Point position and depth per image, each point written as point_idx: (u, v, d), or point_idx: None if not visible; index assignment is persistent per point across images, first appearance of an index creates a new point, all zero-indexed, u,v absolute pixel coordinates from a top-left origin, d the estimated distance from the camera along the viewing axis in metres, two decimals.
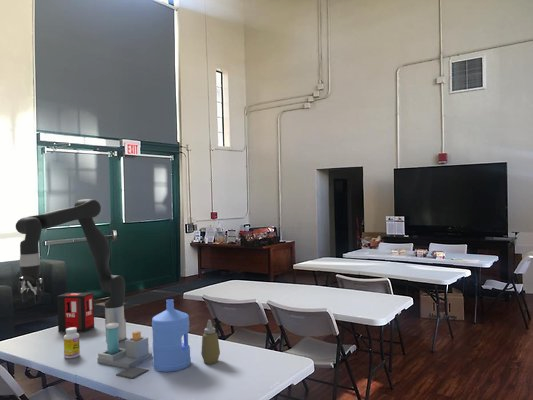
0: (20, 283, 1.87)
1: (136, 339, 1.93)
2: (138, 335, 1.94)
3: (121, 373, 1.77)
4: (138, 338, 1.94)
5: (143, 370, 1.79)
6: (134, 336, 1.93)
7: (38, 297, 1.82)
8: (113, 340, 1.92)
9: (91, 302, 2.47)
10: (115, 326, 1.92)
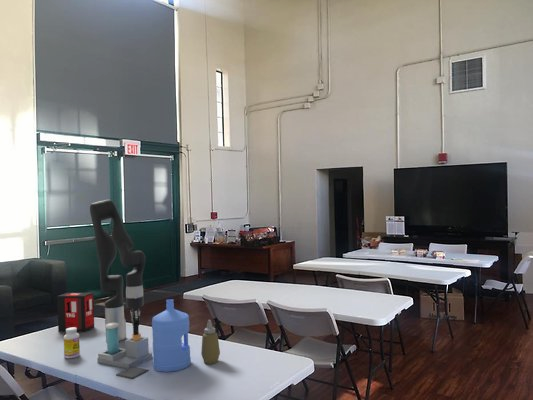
0: None
1: None
2: (138, 337, 1.94)
3: (121, 373, 1.77)
4: (138, 340, 1.94)
5: (143, 370, 1.79)
6: (134, 338, 1.93)
7: None
8: (113, 340, 1.92)
9: (91, 302, 2.47)
10: (115, 326, 1.92)
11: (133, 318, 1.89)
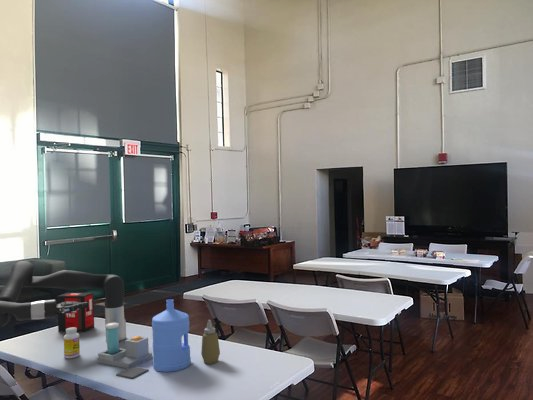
0: None
1: None
2: (138, 340, 1.94)
3: (121, 373, 1.77)
4: None
5: (143, 370, 1.79)
6: None
7: None
8: (113, 340, 1.92)
9: (91, 302, 2.47)
10: (115, 326, 1.92)
11: None
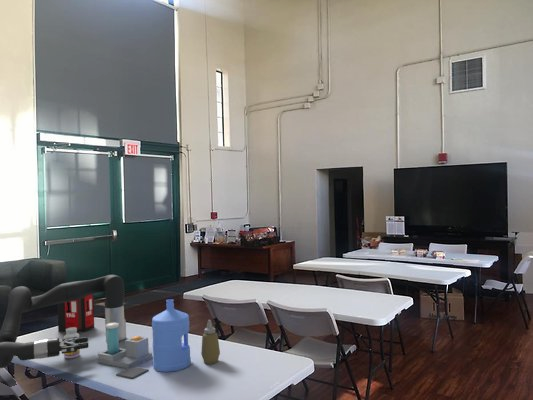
0: None
1: None
2: (138, 340, 1.94)
3: (121, 373, 1.77)
4: None
5: (143, 370, 1.79)
6: None
7: None
8: (113, 340, 1.92)
9: (91, 302, 2.47)
10: (115, 326, 1.92)
11: None
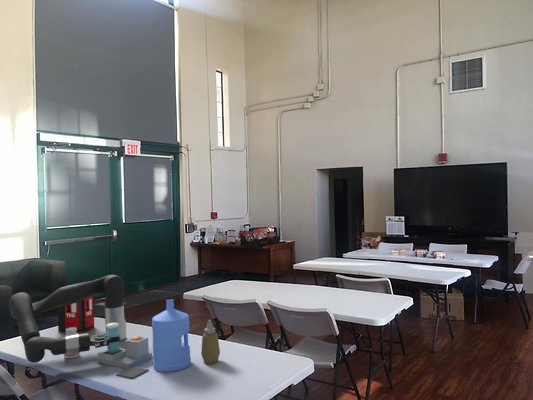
0: None
1: None
2: (138, 340, 1.94)
3: (121, 373, 1.77)
4: None
5: (143, 370, 1.79)
6: None
7: None
8: None
9: (91, 302, 2.47)
10: (115, 326, 1.92)
11: (96, 347, 1.86)
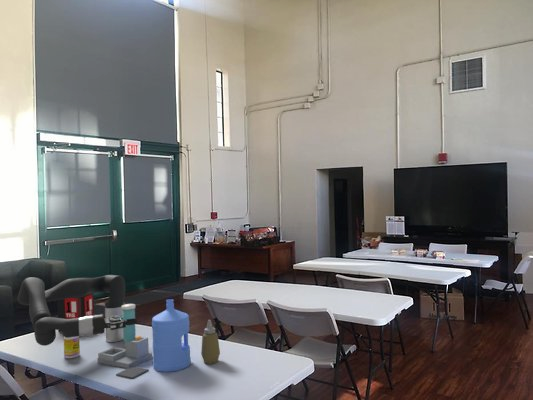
0: None
1: None
2: (138, 340, 1.94)
3: (121, 373, 1.77)
4: None
5: (143, 370, 1.79)
6: None
7: None
8: None
9: (91, 302, 2.47)
10: (132, 307, 1.77)
11: (112, 329, 1.70)
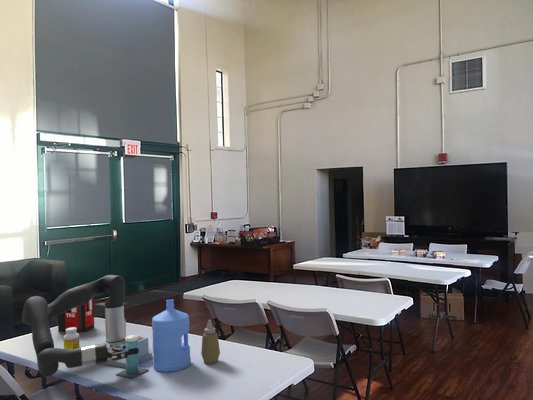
0: None
1: None
2: (138, 340, 1.94)
3: (121, 373, 1.77)
4: None
5: (143, 370, 1.79)
6: None
7: None
8: (133, 354, 1.77)
9: (91, 302, 2.47)
10: (135, 339, 1.77)
11: None
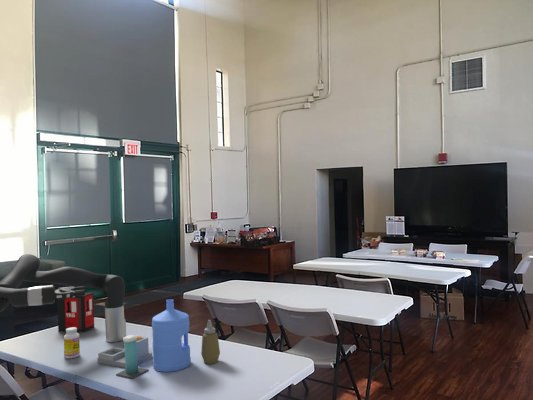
0: None
1: None
2: (138, 340, 1.94)
3: (121, 373, 1.77)
4: None
5: (143, 370, 1.79)
6: None
7: None
8: (131, 354, 1.76)
9: (91, 302, 2.47)
10: (133, 339, 1.77)
11: (58, 299, 1.72)
